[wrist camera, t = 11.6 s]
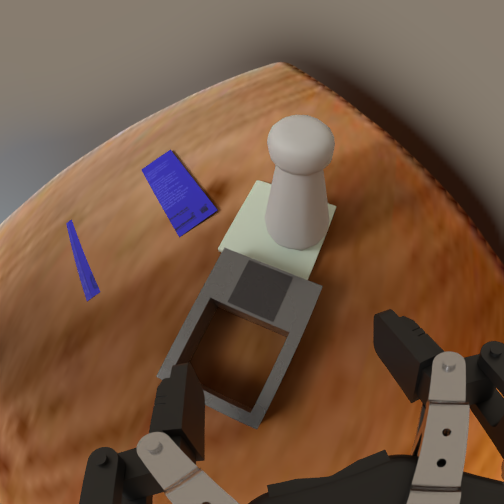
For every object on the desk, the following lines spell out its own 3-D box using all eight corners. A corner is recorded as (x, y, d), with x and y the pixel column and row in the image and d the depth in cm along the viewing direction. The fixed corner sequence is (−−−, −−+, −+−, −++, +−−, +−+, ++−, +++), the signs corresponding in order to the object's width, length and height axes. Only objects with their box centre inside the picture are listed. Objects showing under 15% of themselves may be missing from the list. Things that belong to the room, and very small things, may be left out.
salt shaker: (318, 266, 27) (342, 173, 15) (259, 251, 28) (241, 153, 16) (330, 214, 29) (351, 111, 17) (276, 201, 30) (269, 97, 18)
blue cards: (30, 256, 32) (27, 254, 31) (172, 153, 36) (170, 149, 36) (47, 333, 27) (44, 332, 26) (219, 213, 31) (217, 210, 31)
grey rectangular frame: (169, 377, 24) (155, 376, 21) (230, 261, 28) (224, 247, 26) (259, 424, 22) (256, 429, 19) (318, 296, 26) (322, 285, 23)
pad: (219, 251, 29) (217, 248, 28) (257, 183, 32) (257, 180, 31) (305, 285, 27) (305, 283, 26) (335, 209, 30) (336, 206, 29)
